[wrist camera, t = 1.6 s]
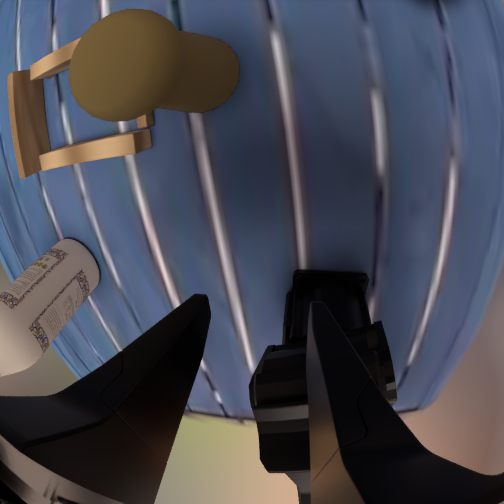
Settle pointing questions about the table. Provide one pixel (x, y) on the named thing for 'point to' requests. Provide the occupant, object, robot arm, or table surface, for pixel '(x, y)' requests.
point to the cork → (149, 68)
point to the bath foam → (43, 303)
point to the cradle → (35, 128)
